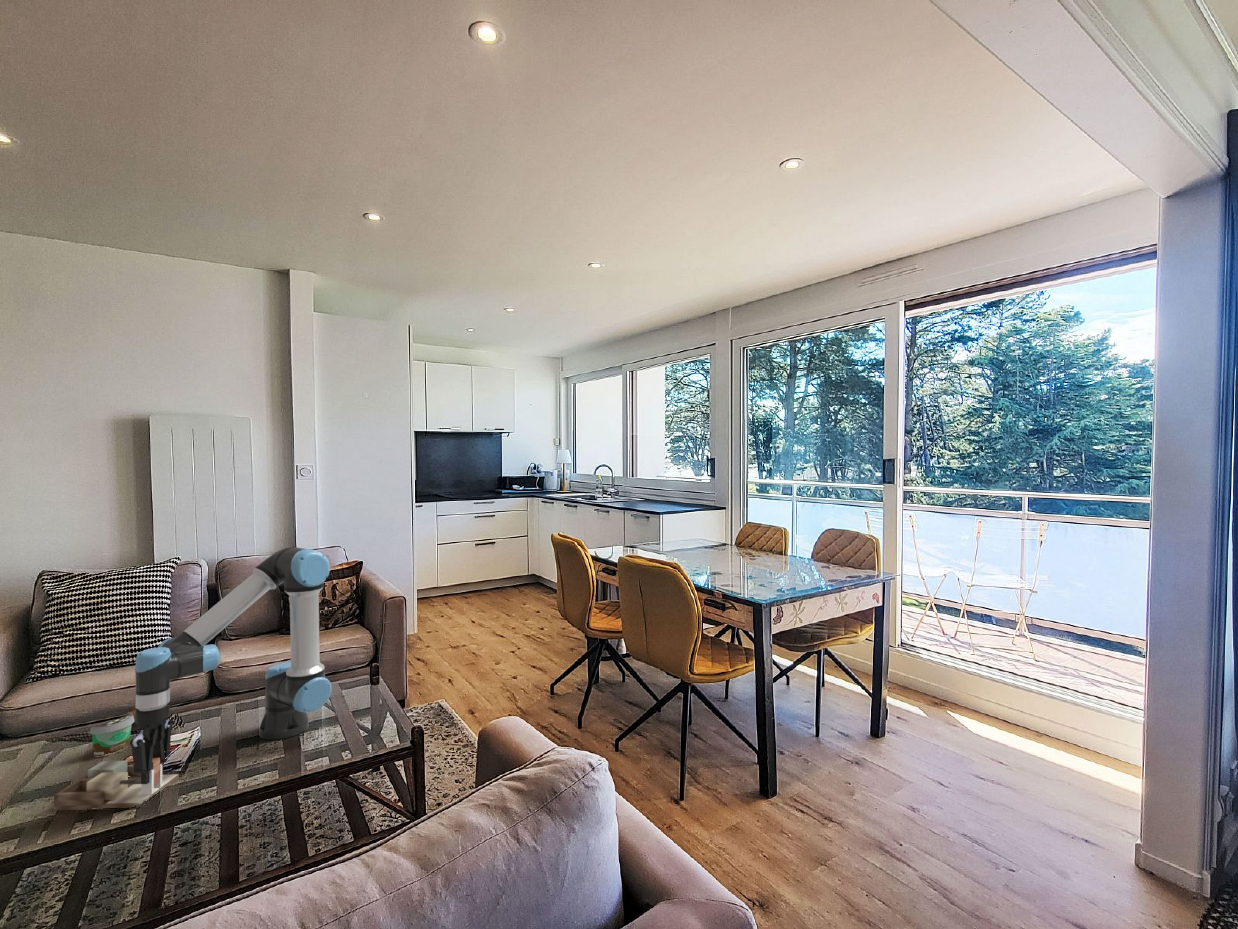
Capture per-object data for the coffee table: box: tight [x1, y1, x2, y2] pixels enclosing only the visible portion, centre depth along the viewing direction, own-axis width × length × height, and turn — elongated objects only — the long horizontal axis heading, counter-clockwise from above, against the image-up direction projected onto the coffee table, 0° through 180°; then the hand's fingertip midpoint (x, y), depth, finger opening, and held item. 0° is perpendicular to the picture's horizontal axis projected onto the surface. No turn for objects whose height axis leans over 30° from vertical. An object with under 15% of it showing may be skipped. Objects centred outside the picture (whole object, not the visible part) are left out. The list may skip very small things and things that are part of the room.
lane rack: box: [53, 760, 180, 811], centre depth 166 cm, size 22×15×6 cm
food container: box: [89, 711, 134, 756], centre depth 190 cm, size 12×6×10 cm, turn 168°
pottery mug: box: [125, 707, 139, 731], centre depth 207 cm, size 12×10×8 cm
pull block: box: [87, 758, 160, 800], centre depth 162 cm, size 16×5×10 cm, turn 93°
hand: (151, 790), depth 163 cm, fingers closed on pull block, 2 cm apart
